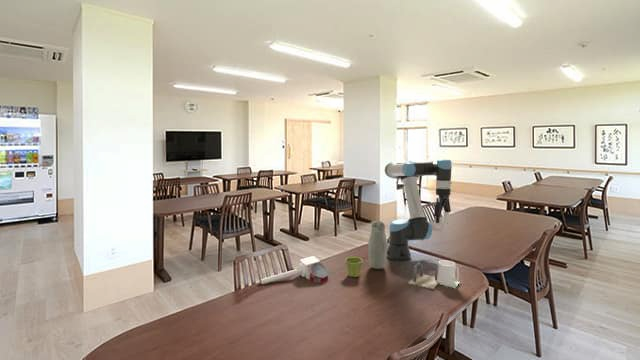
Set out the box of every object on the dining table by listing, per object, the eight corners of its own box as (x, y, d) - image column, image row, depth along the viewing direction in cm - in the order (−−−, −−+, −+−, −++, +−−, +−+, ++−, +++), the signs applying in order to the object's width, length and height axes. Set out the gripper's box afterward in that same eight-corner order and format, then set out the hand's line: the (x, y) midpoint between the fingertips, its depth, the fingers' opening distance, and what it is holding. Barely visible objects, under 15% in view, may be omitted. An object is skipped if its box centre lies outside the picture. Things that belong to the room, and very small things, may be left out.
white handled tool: (319, 261, 183) (262, 277, 172) (321, 276, 184) (264, 293, 173) (313, 255, 192) (258, 270, 180) (315, 270, 193) (260, 286, 182)
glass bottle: (365, 268, 196) (365, 221, 193) (375, 263, 204) (375, 218, 200) (379, 273, 189) (380, 224, 186) (389, 267, 197) (390, 221, 194)
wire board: (408, 283, 175) (408, 281, 175) (418, 274, 186) (418, 273, 186) (433, 290, 167) (433, 288, 167) (442, 280, 178) (442, 278, 178)
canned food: (323, 284, 187) (332, 268, 187) (324, 290, 177) (333, 273, 177) (305, 275, 186) (313, 258, 186) (305, 280, 176) (313, 263, 176)
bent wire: (412, 281, 175) (413, 265, 174) (420, 275, 184) (420, 259, 183) (430, 286, 170) (431, 269, 169) (437, 279, 178) (438, 263, 177)
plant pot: (351, 279, 181) (351, 264, 180) (342, 273, 189) (342, 258, 188) (365, 276, 185) (365, 261, 184) (356, 270, 193) (356, 256, 192)
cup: (452, 289, 166) (453, 269, 165) (434, 280, 176) (435, 261, 175) (464, 286, 169) (465, 266, 168) (445, 277, 180) (446, 259, 179)
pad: (439, 285, 173) (439, 283, 173) (444, 280, 179) (444, 278, 179) (455, 289, 168) (455, 287, 168) (460, 283, 174) (460, 281, 174)
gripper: (442, 191, 172) (441, 232, 174) (457, 185, 191) (455, 222, 194) (428, 190, 176) (427, 229, 179) (443, 184, 196) (442, 220, 198)
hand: (442, 226), depth 186 cm, fingers open, 13 cm apart
